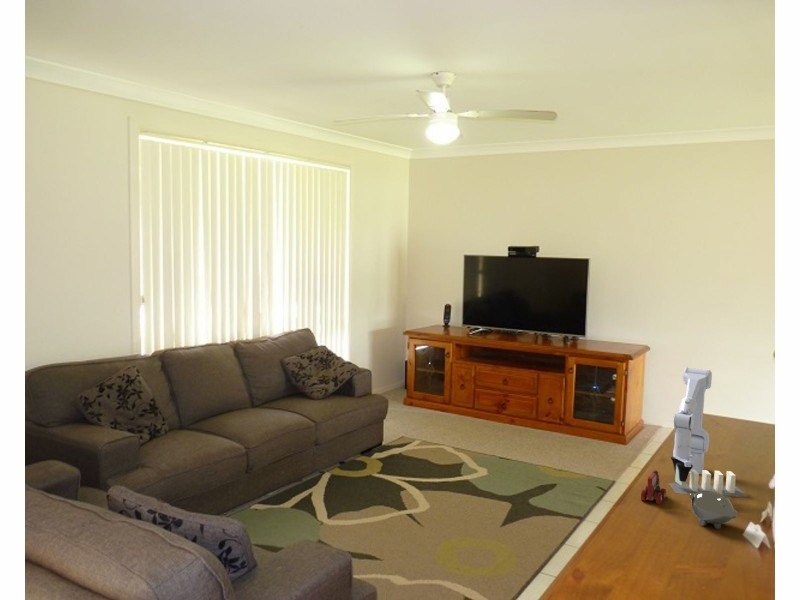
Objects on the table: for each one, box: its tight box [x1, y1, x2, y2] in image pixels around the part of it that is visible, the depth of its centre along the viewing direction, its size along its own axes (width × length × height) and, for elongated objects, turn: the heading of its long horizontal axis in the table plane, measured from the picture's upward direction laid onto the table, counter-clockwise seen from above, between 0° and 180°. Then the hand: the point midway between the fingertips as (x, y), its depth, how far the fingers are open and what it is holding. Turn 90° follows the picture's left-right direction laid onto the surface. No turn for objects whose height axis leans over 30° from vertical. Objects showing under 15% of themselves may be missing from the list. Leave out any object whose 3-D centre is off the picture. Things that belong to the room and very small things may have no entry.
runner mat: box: [667, 482, 749, 498], centre depth 249 cm, size 10×26×1 cm, turn 84°
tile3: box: [701, 469, 712, 490], centre depth 249 cm, size 2×4×7 cm, turn 174°
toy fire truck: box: [640, 469, 667, 505], centre depth 240 cm, size 7×12×10 cm, turn 144°
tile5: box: [725, 470, 737, 493], centre depth 248 cm, size 2×4×7 cm, turn 174°
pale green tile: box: [674, 464, 686, 486], centre depth 250 cm, size 2×4×7 cm, turn 7°
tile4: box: [713, 470, 724, 493], centre depth 248 cm, size 2×4×7 cm, turn 174°
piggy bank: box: [688, 490, 738, 530], centre depth 220 cm, size 11×15×12 cm
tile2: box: [689, 470, 700, 492], centre depth 249 cm, size 2×4×7 cm, turn 174°
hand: (680, 478), depth 250 cm, fingers closed on pale green tile, 5 cm apart
